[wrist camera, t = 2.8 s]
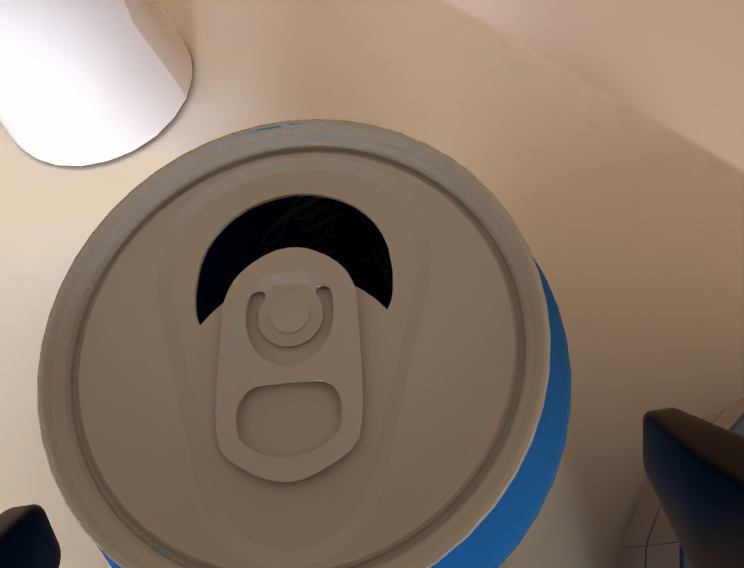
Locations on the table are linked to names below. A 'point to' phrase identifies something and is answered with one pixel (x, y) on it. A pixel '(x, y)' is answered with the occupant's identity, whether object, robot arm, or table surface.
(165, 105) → the cup
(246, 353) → the beverage can
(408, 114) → the table surface
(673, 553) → the pot
